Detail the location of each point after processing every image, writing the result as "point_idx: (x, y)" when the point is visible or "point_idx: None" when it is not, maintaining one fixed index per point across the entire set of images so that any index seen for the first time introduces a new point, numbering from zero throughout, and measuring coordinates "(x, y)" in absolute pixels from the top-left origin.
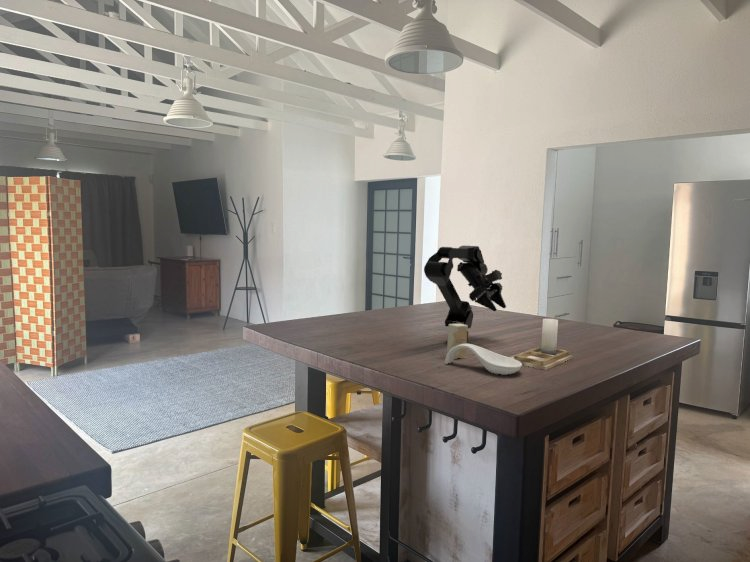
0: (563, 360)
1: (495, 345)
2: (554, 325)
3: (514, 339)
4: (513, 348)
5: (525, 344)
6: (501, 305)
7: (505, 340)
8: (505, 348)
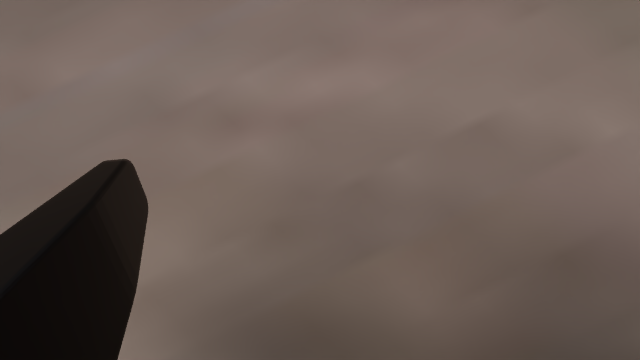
0: None
1: (420, 236)
2: None
3: None
4: (410, 56)
5: (170, 55)
6: (123, 270)
7: None
8: (468, 108)
